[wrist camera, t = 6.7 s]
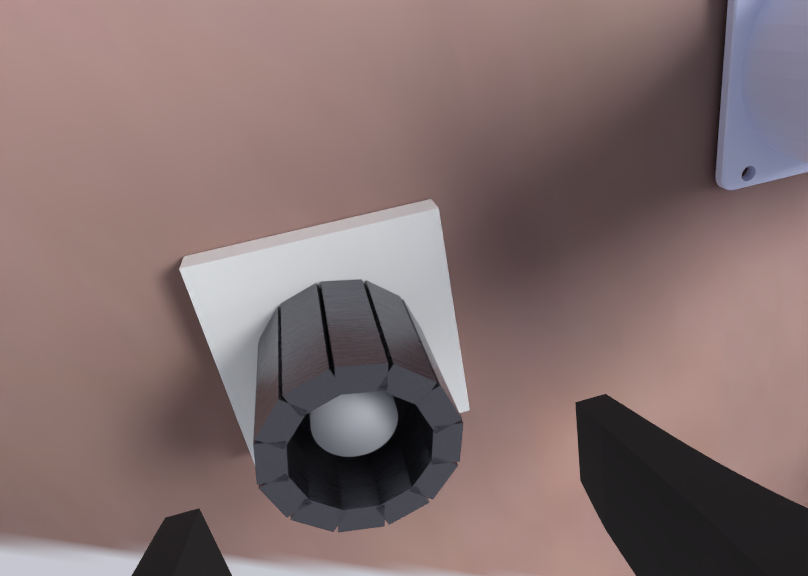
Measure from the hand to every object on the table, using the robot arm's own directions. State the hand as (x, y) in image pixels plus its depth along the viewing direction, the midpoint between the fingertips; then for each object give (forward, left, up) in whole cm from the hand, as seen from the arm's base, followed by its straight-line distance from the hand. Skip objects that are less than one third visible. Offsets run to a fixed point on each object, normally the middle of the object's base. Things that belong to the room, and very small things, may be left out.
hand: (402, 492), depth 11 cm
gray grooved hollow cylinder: (+1, +2, -9) cm, 9 cm away
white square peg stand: (+1, +2, -10) cm, 10 cm away
